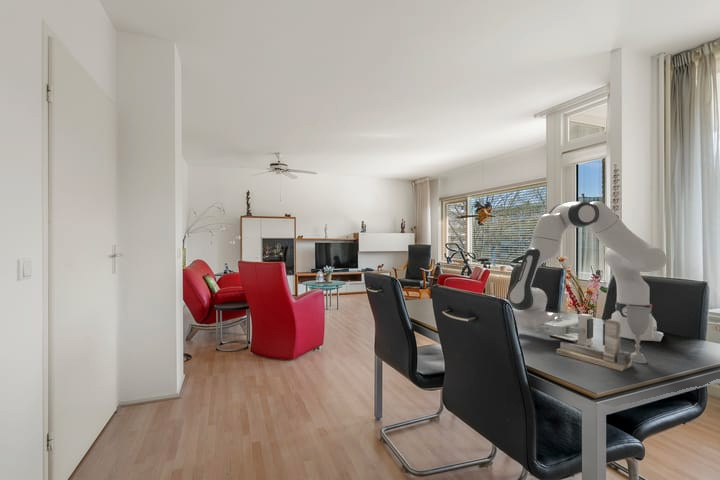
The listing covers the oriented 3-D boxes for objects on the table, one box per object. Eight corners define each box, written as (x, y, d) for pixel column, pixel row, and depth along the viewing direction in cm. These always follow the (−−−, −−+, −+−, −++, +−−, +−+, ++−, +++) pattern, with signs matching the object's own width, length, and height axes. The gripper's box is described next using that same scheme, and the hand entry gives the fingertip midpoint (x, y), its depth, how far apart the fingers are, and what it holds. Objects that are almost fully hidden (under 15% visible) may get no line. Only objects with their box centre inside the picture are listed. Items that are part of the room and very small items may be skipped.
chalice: (619, 357, 122) (619, 305, 122) (637, 356, 123) (638, 305, 123) (637, 364, 115) (637, 309, 115) (656, 364, 115) (657, 309, 115)
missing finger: (583, 346, 134) (584, 313, 134) (594, 348, 131) (594, 314, 131) (576, 348, 131) (577, 314, 131) (587, 351, 128) (587, 316, 128)
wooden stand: (567, 349, 130) (567, 310, 130) (631, 366, 113) (632, 321, 113) (556, 353, 125) (556, 313, 125) (621, 371, 109) (622, 324, 109)
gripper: (536, 318, 136) (574, 325, 125) (562, 312, 148) (599, 319, 136) (536, 334, 136) (574, 343, 125) (562, 327, 148) (599, 335, 136)
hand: (587, 330), depth 131 cm, fingers closed on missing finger, 4 cm apart
